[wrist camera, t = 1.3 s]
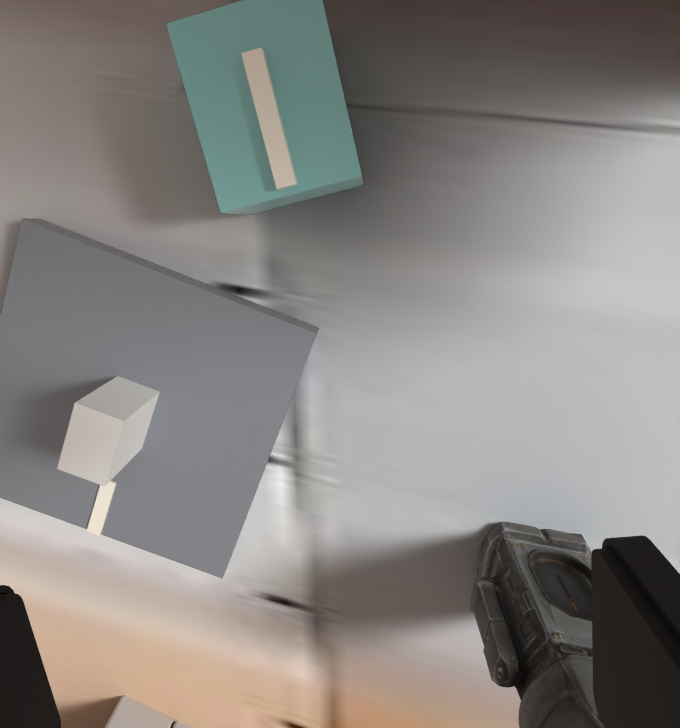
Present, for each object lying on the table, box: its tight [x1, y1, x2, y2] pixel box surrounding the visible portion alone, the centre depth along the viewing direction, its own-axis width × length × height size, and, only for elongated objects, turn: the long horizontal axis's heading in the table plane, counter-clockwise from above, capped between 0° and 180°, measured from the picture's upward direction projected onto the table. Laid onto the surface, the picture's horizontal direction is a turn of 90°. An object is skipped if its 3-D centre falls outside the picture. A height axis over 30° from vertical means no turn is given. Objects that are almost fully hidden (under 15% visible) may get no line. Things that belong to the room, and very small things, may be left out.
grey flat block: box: [0, 219, 319, 578], centre depth 29 cm, size 16×16×6 cm
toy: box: [470, 522, 604, 728], centre depth 26 cm, size 8×6×15 cm
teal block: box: [166, 0, 363, 215], centre depth 24 cm, size 7×6×7 cm
